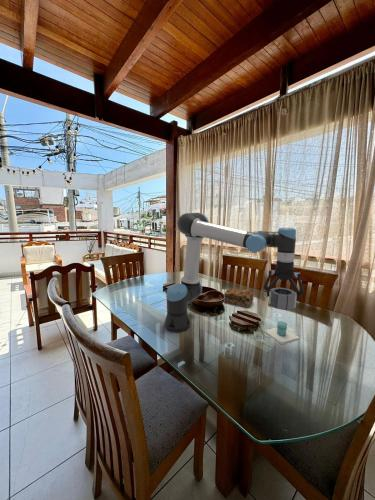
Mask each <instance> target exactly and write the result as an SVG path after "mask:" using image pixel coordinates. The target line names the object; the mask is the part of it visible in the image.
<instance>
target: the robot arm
mask: <svg viewBox="0 0 375 500" xmlns="http://www.w3.org/2000/svg"><path fill="white" fill-rule="evenodd" d="M176 224H177V225H176V226H177V229H178V231H179V232H180V233H181V234H183V235H184V236H185V238H186V247H185V259H184V260H185V261H184V271H183V276H182V277H181V278H180V283H176V284H171V285H169V286H168V288H167V290H166V293H165V294H166V316H165V318H164V324H163V325H164V328H165V330H167V331H168V332H171V333H181V332H185V331H187V330H189V329H190V327H191V319H190V317H189V314H188V304H189V305H190V303H191V302H193V301H195V300H196V299H198V298H199V297H200V295H201V294H202V292H203V286H202V284H201V279H200V278H199V268H200V260H201V259H200V257H201V249H202V248H201V247H202V240H203V239H205V238H206V239H210V240H213V241H218V242H221V243H225V244H228V245H232V246H237V247H239V248H240V247H241V248H244V249H247V250H248V251H250V252H251V253H259V252H262V251H263V250H265V248H276V250H277V251H276V264H275V269H274V270H273V269H269V271H268V276H267V278H266V280H265V283H264V286H263V289H264V290H266V297H268V304H269V305H270V300H271V290H272V288H274V286H275V285H276V283H277V282H278V281H288V282H289V283H290V285H291V287H292V288H293V291H295V302H294V309H296V307H297V302H299V301H300V295H305V290H304V287H303V283H302V279H301V272H295V271H294V269H295V268H294V265H295V262H294V261H295V254H296V244H297V243H296V242H297V241H296V240H297V230H296V228H294V227H279V228H278V231H265V230H254V231H253V232H252V231H248V230H245V229H244V230H243V229H239V228H235V227H230V226H226V225H220V224H216V223H212V222H210V221H209V219H208V217H207V216H206V215H205V214H203V213H202V212H187V213H183V214H181V215H180V216H179V217H178V218H177V222H176ZM274 274H275V275H276V276H275V278H274V279H273V280H272V282H270V280H271V277H272V276H273V275H274ZM293 276H295V278H297V283H298V287H299V288H298V287H297V285H296V283H295V281H294V280H293ZM269 282H270V284H269ZM268 284H269V285H268Z"/></svg>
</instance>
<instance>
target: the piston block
mask: <svg viewBox="0 0 375 500" xmlns="http://www.w3.org/2000/svg"><path fill="white" fill-rule="evenodd" d="M287 326H288V323H287V322H285V321H284V320H283V321H281V320H279V321H277V325H276V327H273V328H268V329H265V330H264V333H265V332H266V333H267V336H269V337H270V336H271V337H270V338H272V339H273V340H274V341H275V342H277V343H279V345H285V344H288V343H290V342H294V341H297V340H300V337H299V336H297V335H296V334H294V333H293V332H291V331H290V330H288V327H287ZM266 333H265V334H266Z"/></svg>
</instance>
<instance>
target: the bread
mask: <svg viewBox="0 0 375 500" xmlns="http://www.w3.org/2000/svg"><path fill="white" fill-rule="evenodd" d="M223 297H225V301H224V303H225V304H227V305H228V304H229V305H233V306H237V307H242V308H251V306H252V305H253V302H254V292H253V291H251V290H247V289H241V288H232V287H230V288H228V289H226V291H225V292H224V294H223Z"/></svg>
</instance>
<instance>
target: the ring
mask: <svg viewBox="0 0 375 500" xmlns="http://www.w3.org/2000/svg"><path fill="white" fill-rule="evenodd" d="M295 293H296V292H295V290H293V289H289V288H286V287H285V288H284V287H272V288H271V300H270V304H269V305H270V306H271V307H272V308H274V309H277V310H280V311H281V310H283V311H291V310H294V309H295V308H294V302H295Z"/></svg>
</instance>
